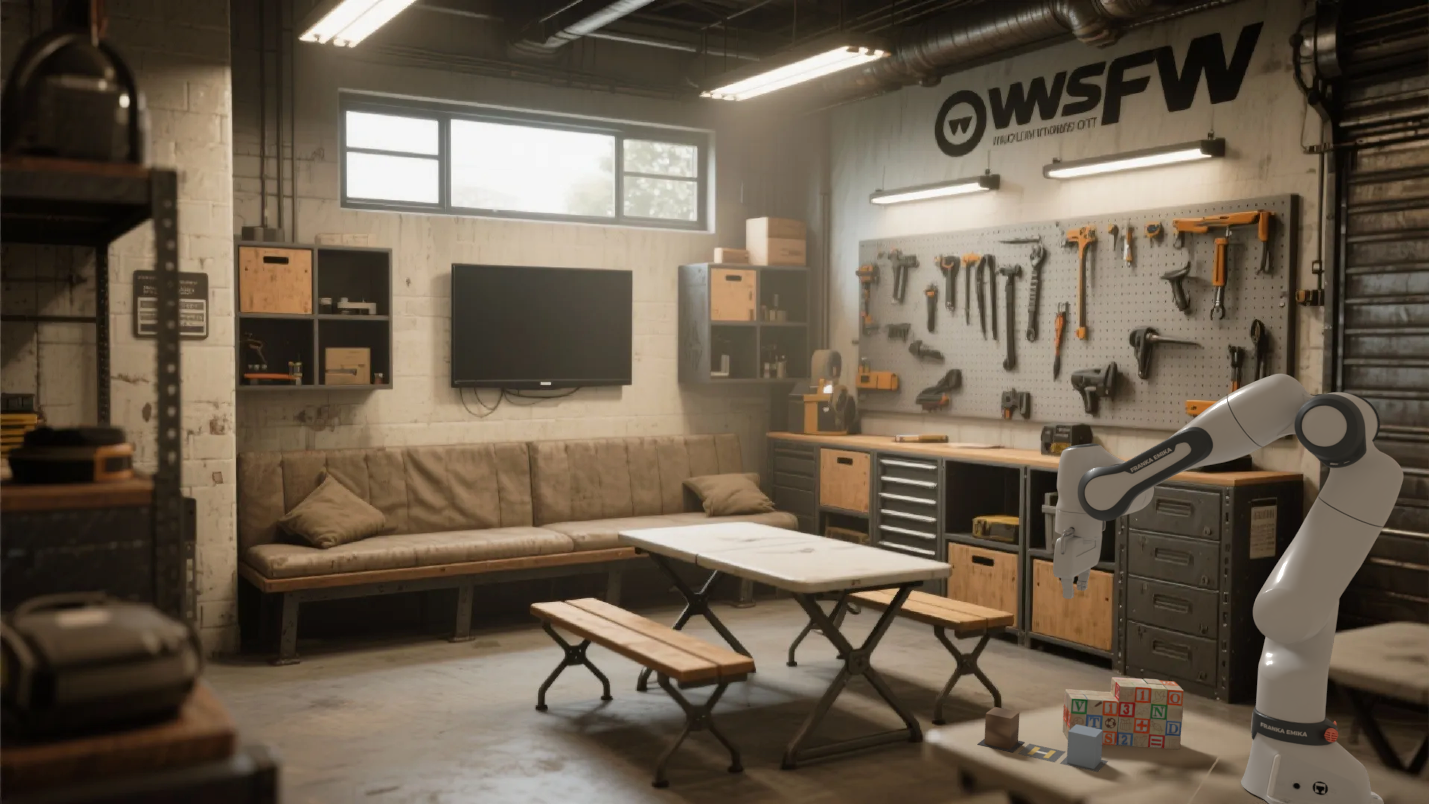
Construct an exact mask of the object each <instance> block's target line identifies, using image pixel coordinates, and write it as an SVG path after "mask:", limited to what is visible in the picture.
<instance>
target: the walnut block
mask: <svg viewBox="0 0 1429 804" xmlns="http://www.w3.org/2000/svg"><path fill="white" fill-rule="evenodd" d="M1019 731H1020V711H1015V710H1012V709H1007V708H1002V707H996V706H994V707H992V708H990V710H988V711H987V712H986V713H985V723H984V739H985V740H984V744H988V745H992V746H996V747H1001V748H1005V749H1011V748H1012V747H1013V746H1014V745H1015V744H1017V743H1018V741H1019Z"/></svg>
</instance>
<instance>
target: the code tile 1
mask: <svg viewBox="0 0 1429 804" xmlns="http://www.w3.org/2000/svg"><path fill="white" fill-rule="evenodd" d="M1065 753H1066V751H1065V750H1059V749H1055V748H1051V747H1046V746H1042V745H1037V744H1033V743H1029V744H1027V745H1026V746H1025V747H1024V748H1023V749H1022V750H1020V751H1019V752H1018V753H1017V754H1018V755H1021V756H1025V757H1029V758H1034V759H1038V760H1041V761H1047V762H1052V763H1056V762H1057V760H1059V759H1060V758H1061V756H1063V755H1064V754H1065Z"/></svg>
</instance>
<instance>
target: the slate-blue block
mask: <svg viewBox="0 0 1429 804" xmlns="http://www.w3.org/2000/svg"><path fill="white" fill-rule="evenodd" d="M1102 738H1103V730H1101V729H1096V728H1091V727H1087V726H1082V725H1077V724H1076V725H1075V726H1074V727H1073V728H1072V729H1070V730H1069V731H1068V740H1067V749H1066V750H1067V751H1066V753H1067V754H1066V757H1067V763H1069V764H1074V765H1078V766H1082V767H1087V768H1091V769H1094V768H1095V767H1096V766H1097V765H1098V764H1099V763H1100V762H1101V760H1102V755H1103V754H1102V751H1103V744H1102Z"/></svg>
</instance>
